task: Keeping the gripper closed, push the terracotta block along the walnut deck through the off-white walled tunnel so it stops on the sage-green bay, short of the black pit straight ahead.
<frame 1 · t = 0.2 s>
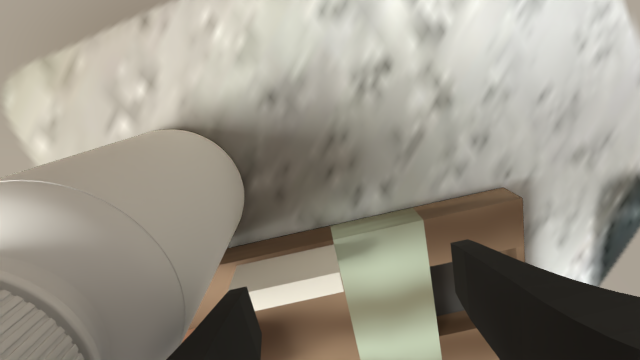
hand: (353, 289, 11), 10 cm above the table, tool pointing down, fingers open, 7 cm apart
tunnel: (306, 310, 23), resting on deck
deck: (347, 301, 23), on the table
pill bottle: (182, 189, 21), on the table
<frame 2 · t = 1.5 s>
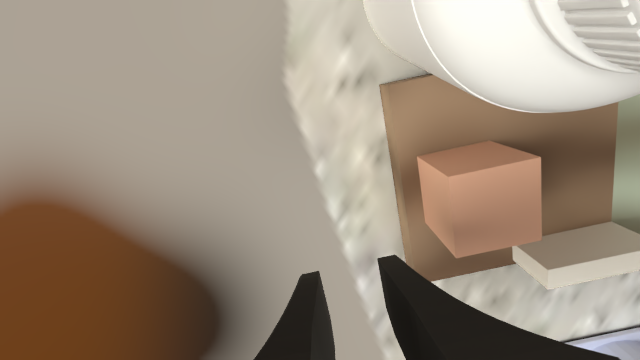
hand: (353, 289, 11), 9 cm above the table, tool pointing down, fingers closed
block: (456, 183, 18), point 2 cm above the table, touching deck
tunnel: (537, 152, 20), resting on deck
deck: (585, 142, 20), on the table
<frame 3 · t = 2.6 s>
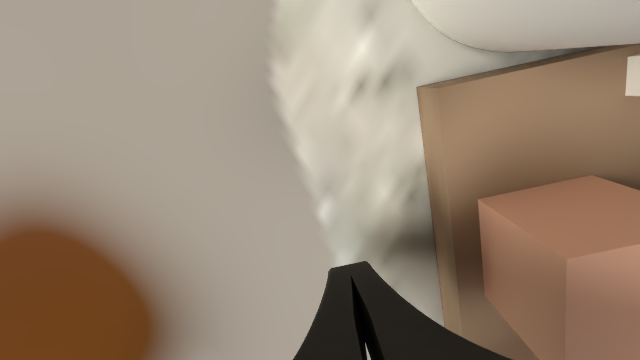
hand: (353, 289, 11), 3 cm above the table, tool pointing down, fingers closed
block: (535, 238, 12), point 2 cm above the table, touching deck
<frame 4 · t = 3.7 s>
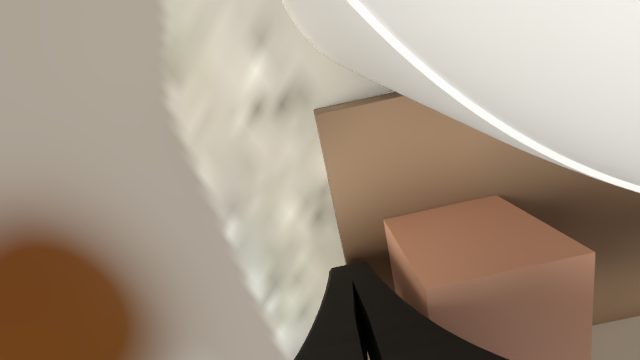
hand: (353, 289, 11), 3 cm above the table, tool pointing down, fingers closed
block: (445, 257, 12), point 2 cm above the table, touching deck, gripper
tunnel: (552, 206, 14), resting on deck
deck: (622, 191, 14), on the table
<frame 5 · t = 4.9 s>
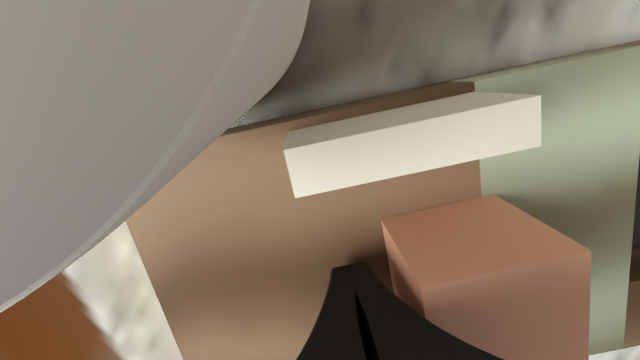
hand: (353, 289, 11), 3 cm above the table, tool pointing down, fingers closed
block: (443, 256, 12), point 2 cm above the table, touching gripper
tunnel: (390, 241, 14), resting on deck
deck: (460, 226, 14), on the table
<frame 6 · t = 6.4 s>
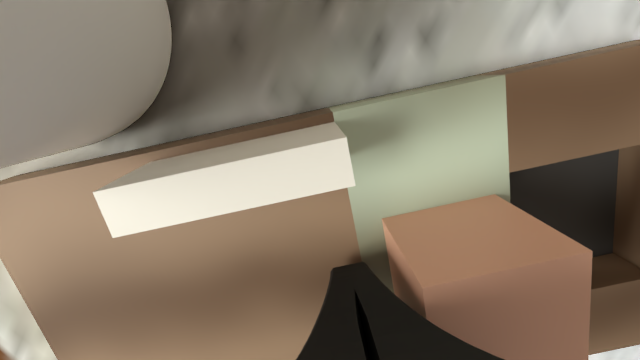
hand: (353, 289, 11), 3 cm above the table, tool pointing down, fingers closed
block: (443, 256, 12), point 2 cm above the table, touching deck, gripper
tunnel: (287, 263, 14), resting on deck
deck: (355, 248, 14), on the table
pill bottle: (56, 25, 11), on the table
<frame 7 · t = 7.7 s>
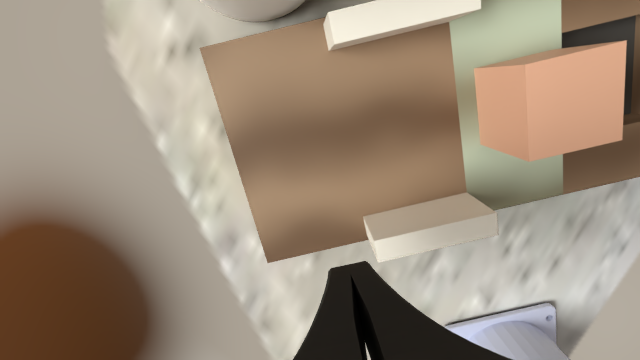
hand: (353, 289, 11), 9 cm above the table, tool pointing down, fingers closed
block: (514, 98, 17), point 2 cm above the table, touching deck
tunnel: (392, 122, 19), resting on deck
deck: (443, 110, 19), on the table
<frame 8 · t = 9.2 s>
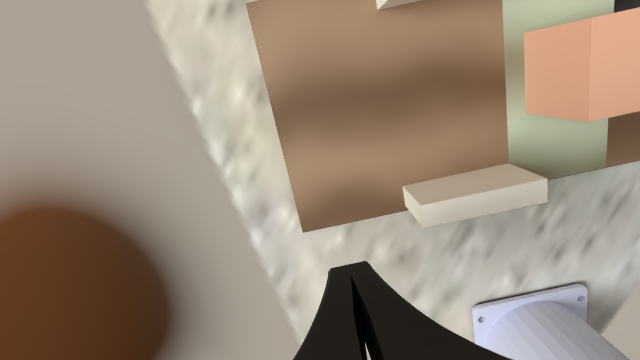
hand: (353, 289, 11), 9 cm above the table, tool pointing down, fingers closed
block: (563, 65, 17), point 2 cm above the table, touching deck
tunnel: (433, 91, 19), resting on deck
deck: (484, 80, 19), on the table
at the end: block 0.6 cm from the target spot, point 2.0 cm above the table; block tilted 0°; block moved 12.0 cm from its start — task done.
